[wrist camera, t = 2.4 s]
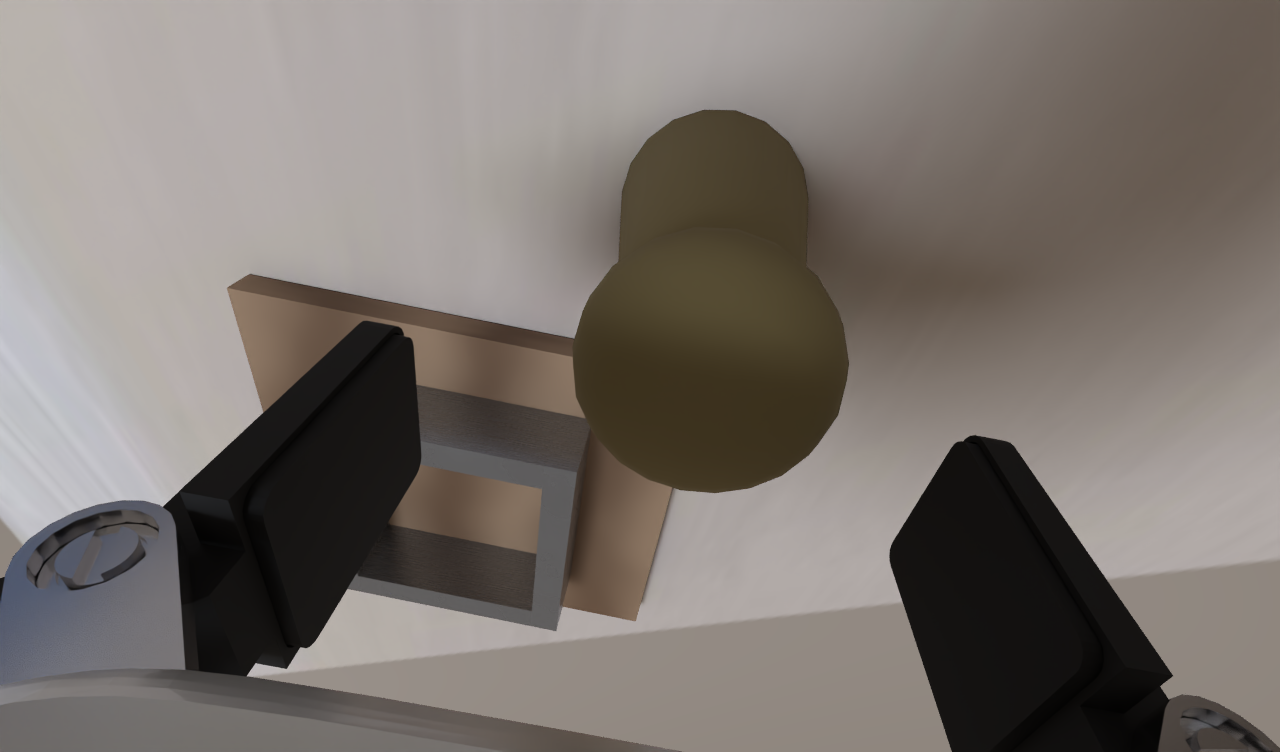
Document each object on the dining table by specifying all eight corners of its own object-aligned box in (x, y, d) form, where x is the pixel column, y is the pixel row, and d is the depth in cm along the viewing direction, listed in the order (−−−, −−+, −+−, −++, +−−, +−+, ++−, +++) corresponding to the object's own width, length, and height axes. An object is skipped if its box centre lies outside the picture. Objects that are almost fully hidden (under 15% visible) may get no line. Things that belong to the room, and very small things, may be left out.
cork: (776, 307, 20) (819, 565, 11) (610, 275, 20) (523, 506, 11) (835, 129, 17) (965, 299, 8) (635, 91, 17) (538, 216, 8)
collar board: (702, 364, 22) (701, 382, 21) (638, 601, 31) (635, 621, 30) (248, 274, 22) (226, 287, 21) (318, 536, 31) (305, 554, 30)
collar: (592, 419, 23) (576, 472, 20) (570, 575, 29) (555, 630, 26) (337, 368, 23) (291, 415, 20) (368, 535, 29) (335, 586, 26)
